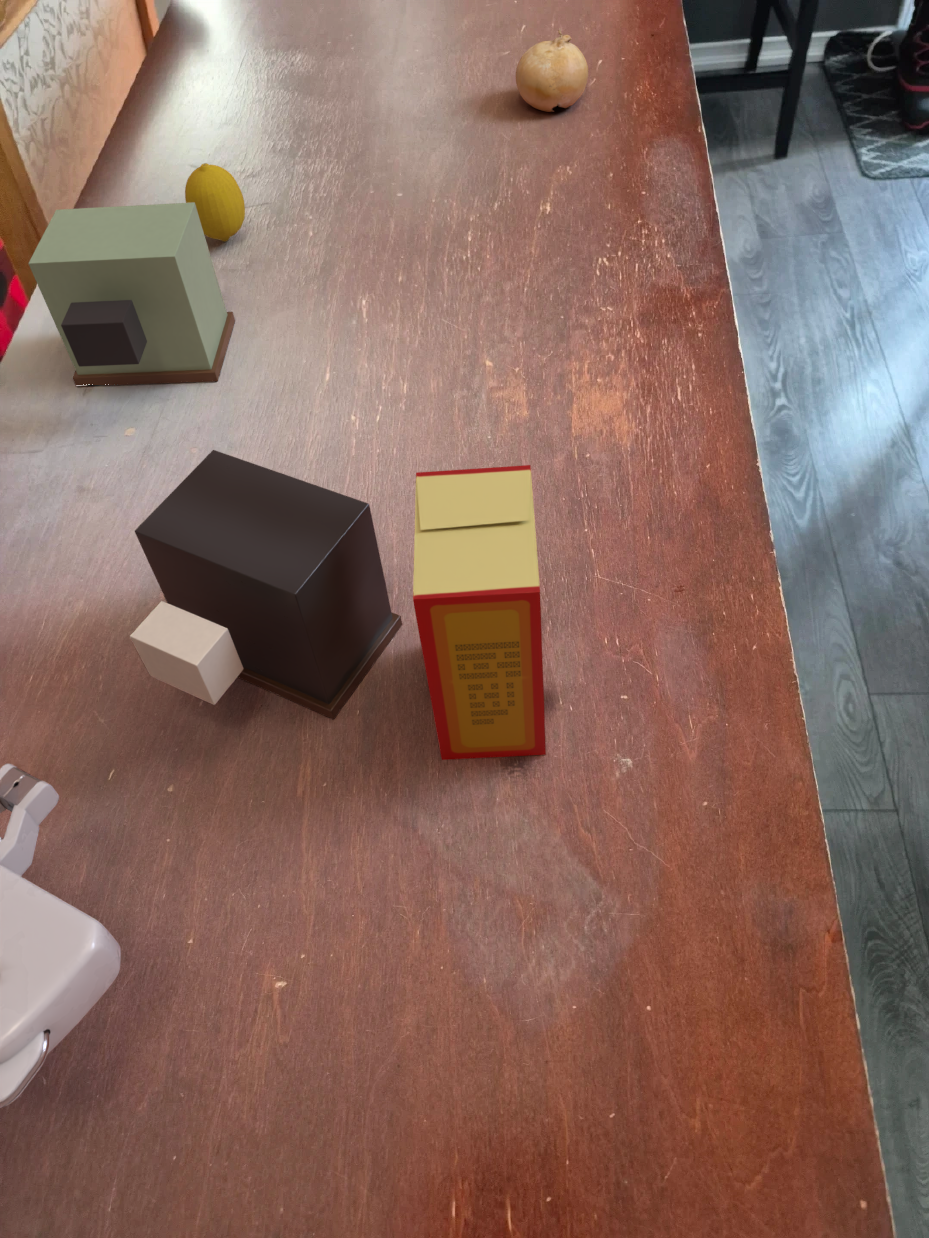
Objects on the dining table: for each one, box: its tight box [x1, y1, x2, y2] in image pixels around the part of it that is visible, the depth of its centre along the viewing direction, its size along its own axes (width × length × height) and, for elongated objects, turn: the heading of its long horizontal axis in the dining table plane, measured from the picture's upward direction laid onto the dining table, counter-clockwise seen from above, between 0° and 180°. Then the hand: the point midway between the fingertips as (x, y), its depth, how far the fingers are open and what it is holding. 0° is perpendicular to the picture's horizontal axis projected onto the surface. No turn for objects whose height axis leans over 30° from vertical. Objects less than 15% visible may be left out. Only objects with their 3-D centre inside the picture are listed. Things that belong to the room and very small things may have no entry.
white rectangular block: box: [129, 600, 244, 706], centre depth 64 cm, size 3×5×4 cm, turn 61°
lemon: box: [184, 162, 246, 243], centre depth 104 cm, size 6×6×8 cm
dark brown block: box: [61, 300, 147, 367], centre depth 85 cm, size 3×5×4 cm, turn 88°
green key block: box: [27, 202, 236, 386], centre depth 92 cm, size 9×13×12 cm
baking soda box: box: [412, 464, 547, 761], centre depth 64 cm, size 10×6×16 cm
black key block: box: [134, 449, 403, 720], centre depth 69 cm, size 9×13×12 cm
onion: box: [515, 27, 589, 113], centre depth 117 cm, size 8×8×7 cm
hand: (35, 779), depth 55 cm, fingers closed
